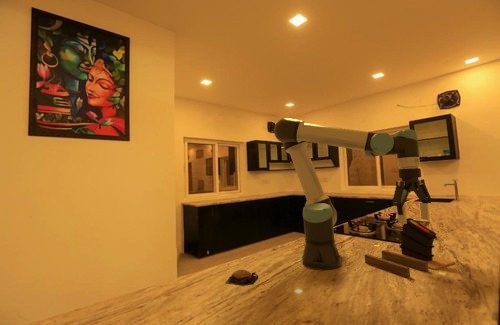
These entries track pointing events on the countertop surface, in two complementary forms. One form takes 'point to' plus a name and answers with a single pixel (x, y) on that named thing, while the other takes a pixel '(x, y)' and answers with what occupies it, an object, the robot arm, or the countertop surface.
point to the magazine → (417, 240)
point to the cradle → (394, 266)
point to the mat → (434, 262)
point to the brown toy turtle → (242, 278)
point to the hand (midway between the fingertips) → (414, 221)
